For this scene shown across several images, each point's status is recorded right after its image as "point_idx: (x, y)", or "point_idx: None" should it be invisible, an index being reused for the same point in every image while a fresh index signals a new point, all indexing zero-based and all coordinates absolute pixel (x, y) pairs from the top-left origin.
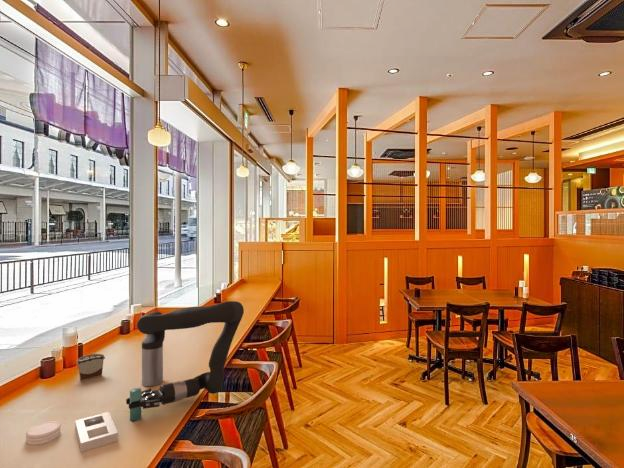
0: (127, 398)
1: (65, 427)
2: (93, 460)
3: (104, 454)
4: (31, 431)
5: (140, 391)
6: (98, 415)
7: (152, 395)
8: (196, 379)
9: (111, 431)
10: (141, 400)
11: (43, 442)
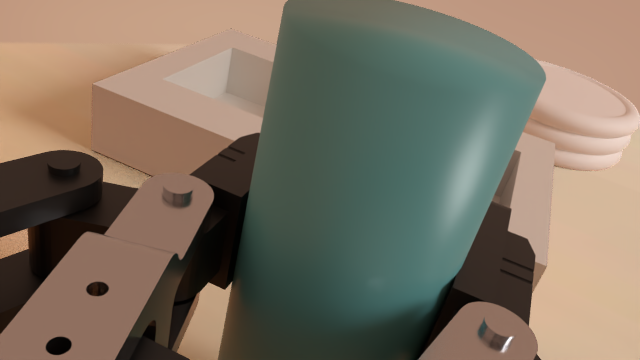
0: (497, 203)
1: (591, 194)
2: (87, 50)
3: (65, 74)
4: (562, 73)
5: (293, 54)
6: (530, 207)
7: (9, 357)
8: None
9: (160, 88)
10: (171, 182)
11: None
